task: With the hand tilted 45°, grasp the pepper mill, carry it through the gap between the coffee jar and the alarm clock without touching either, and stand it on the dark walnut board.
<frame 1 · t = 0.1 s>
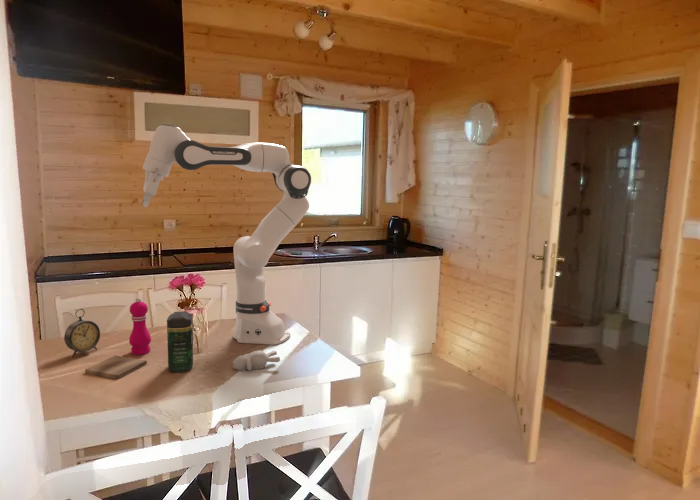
hand: (144, 205, 179), 52 cm above the table, tool tilted 20°, fingers open, 8 cm apart
bunny figurine: (256, 367, 170), on the table
pepper mill: (140, 352, 182), on the table
alarm clock: (83, 353, 180), on the table
coffee jar: (181, 368, 169), on the table
walnut board: (116, 368, 167), on the table
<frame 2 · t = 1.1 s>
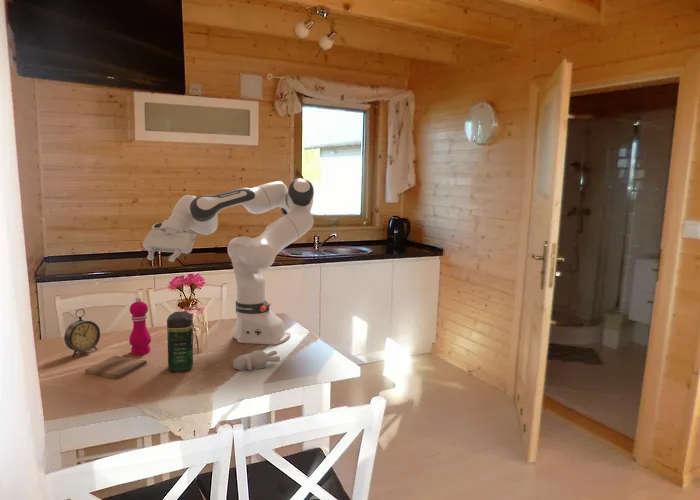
hand: (160, 260, 189), 31 cm above the table, tool tilted 45°, fingers open, 8 cm apart
nothing on the table moved.
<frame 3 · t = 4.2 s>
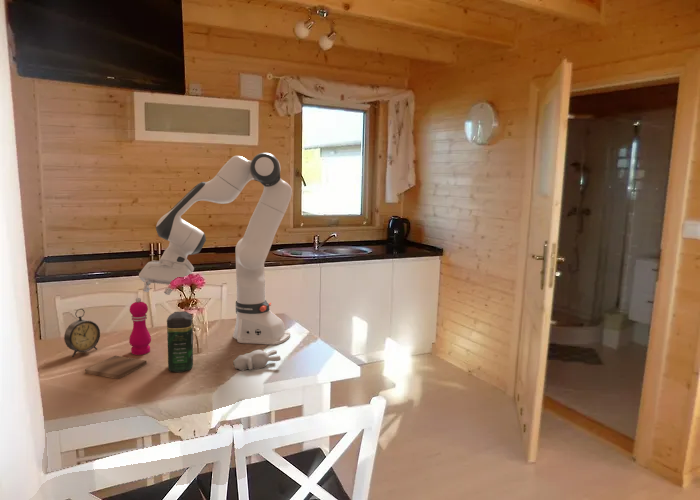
hand: (155, 292, 188), 20 cm above the table, tool tilted 45°, fingers open, 8 cm apart
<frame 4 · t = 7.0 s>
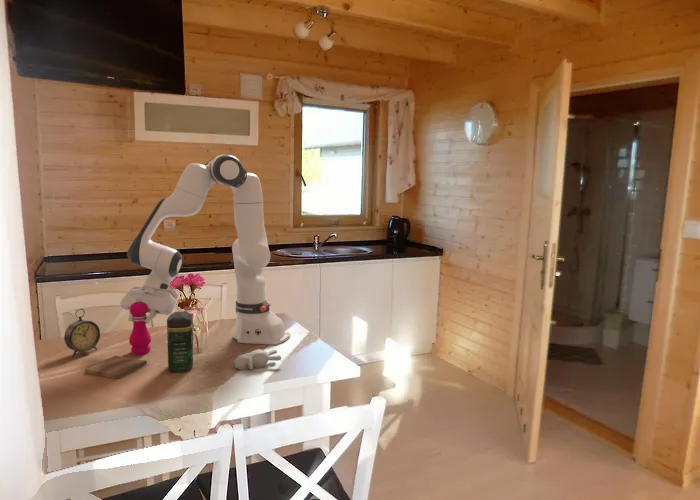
hand: (138, 321, 179), 11 cm above the table, tool tilted 45°, fingers closed on pepper mill, 5 cm apart
pepper mill: (140, 352, 182), on the table, touching gripper
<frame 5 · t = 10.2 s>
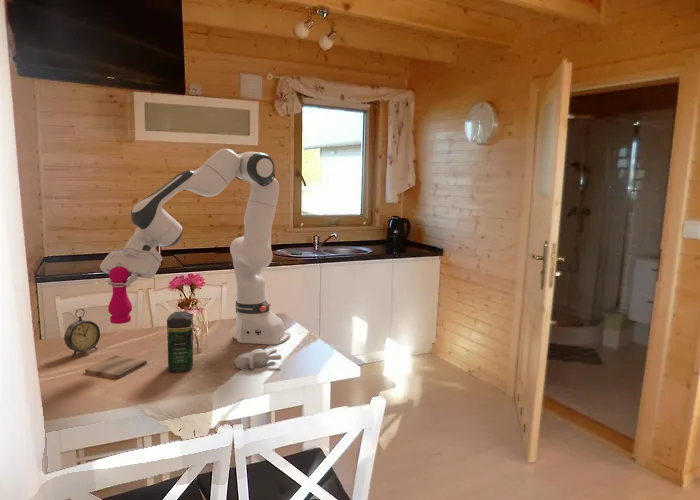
hand: (117, 285, 166), 27 cm above the table, tool tilted 45°, fingers closed on pepper mill, 5 cm apart
pepper mill: (120, 321, 169), point 14 cm above the table, touching gripper
when the fingers open (14 cm above the table, at t = 13.5 s): pepper mill stays where it is, resting on walnut board.
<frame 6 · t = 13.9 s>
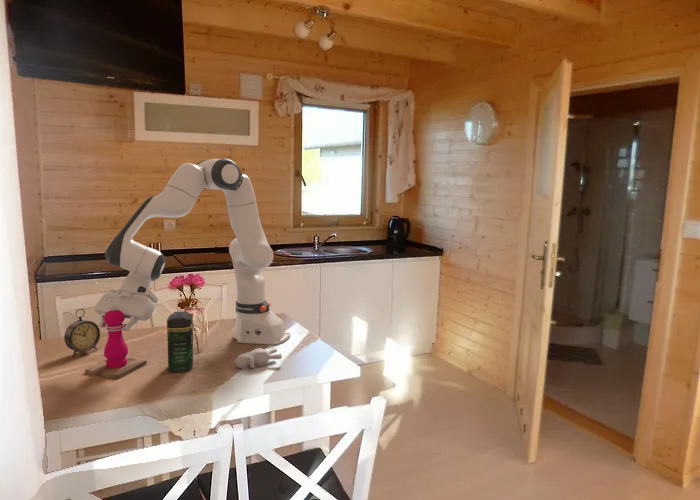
hand: (113, 328, 164), 14 cm above the table, tool tilted 45°, fingers open, 8 cm apart
pepper mill: (116, 365, 167), point 1 cm above the table, touching walnut board
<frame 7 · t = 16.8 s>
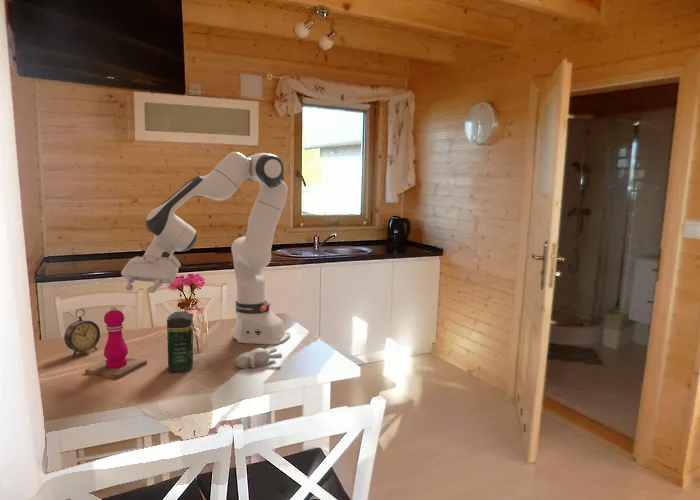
hand: (139, 290, 174), 23 cm above the table, tool tilted 45°, fingers open, 8 cm apart
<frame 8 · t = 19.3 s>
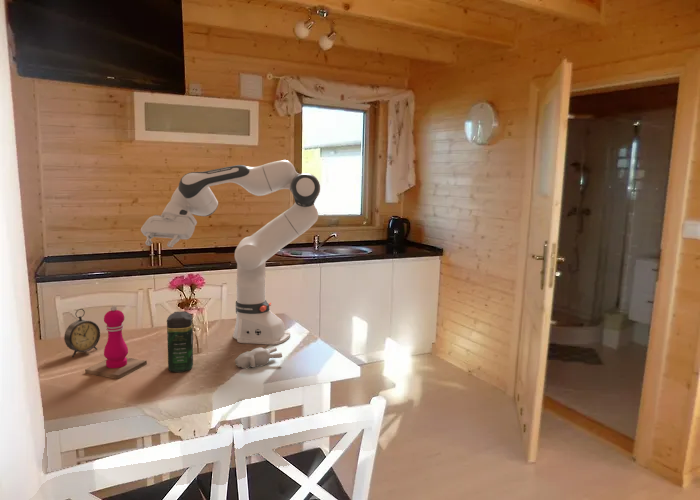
hand: (158, 245, 184), 37 cm above the table, tool tilted 45°, fingers open, 8 cm apart
at the end: pepper mill inside the target area on the walnut board (0.1 cm from its centre), point 1.0 cm above the walnut board's base; pepper mill tilted 0°; alarm clock moved 0.2 cm from its start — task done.
